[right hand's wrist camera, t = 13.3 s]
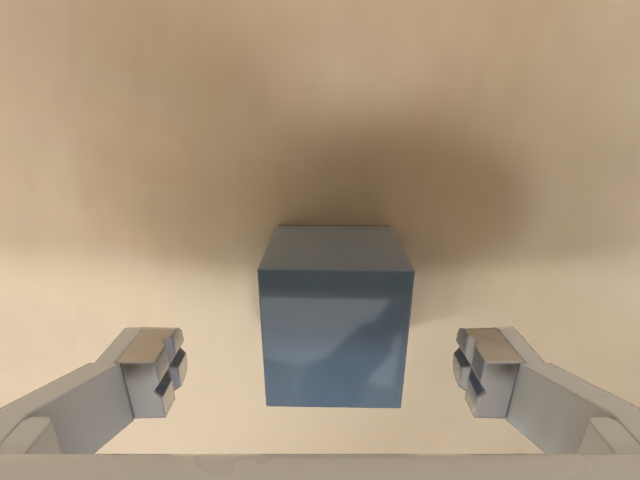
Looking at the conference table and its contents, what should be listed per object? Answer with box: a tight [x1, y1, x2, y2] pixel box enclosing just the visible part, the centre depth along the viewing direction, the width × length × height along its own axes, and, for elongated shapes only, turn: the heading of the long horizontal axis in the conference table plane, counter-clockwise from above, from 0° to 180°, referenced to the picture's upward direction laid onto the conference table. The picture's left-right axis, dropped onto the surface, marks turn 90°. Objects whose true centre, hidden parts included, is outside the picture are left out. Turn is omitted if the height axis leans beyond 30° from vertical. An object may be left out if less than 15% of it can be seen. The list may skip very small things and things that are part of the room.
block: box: [257, 226, 415, 408], centre depth 13 cm, size 5×5×4 cm
